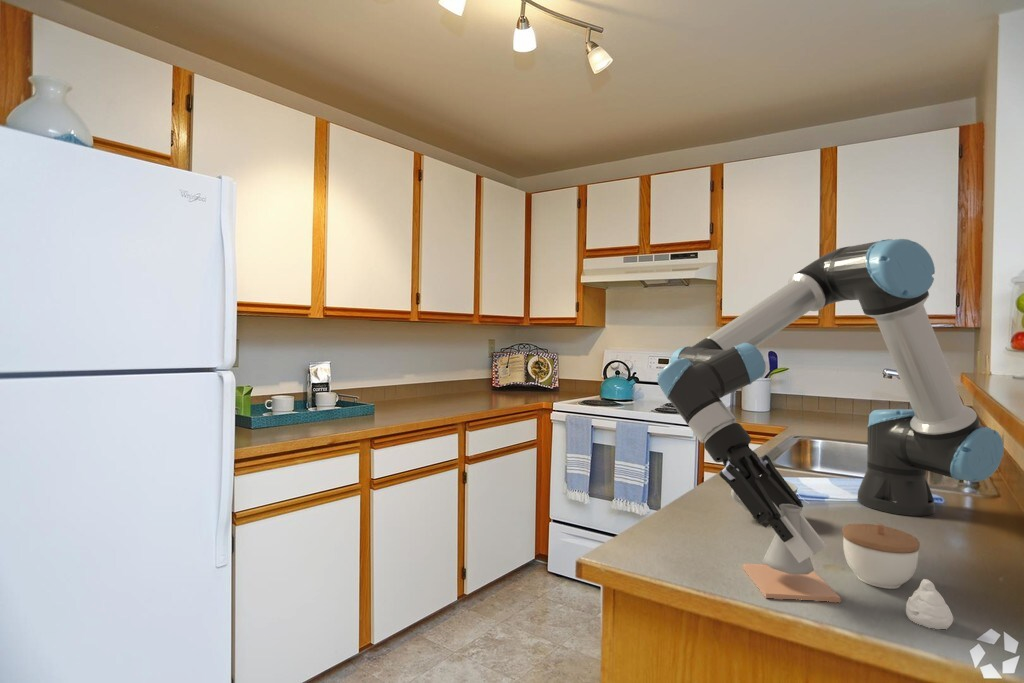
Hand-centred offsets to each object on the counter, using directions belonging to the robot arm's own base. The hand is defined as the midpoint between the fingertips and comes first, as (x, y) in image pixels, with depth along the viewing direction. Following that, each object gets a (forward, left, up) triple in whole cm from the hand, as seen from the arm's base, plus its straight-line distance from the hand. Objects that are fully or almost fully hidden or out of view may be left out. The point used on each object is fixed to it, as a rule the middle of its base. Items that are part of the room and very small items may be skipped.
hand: (813, 554), depth 89 cm
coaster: (+3, -3, -6) cm, 7 cm away
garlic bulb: (-13, +7, -7) cm, 16 cm away
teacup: (-4, -36, -6) cm, 37 cm away
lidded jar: (-13, -6, -6) cm, 16 cm away
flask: (+3, -3, -4) cm, 5 cm away
